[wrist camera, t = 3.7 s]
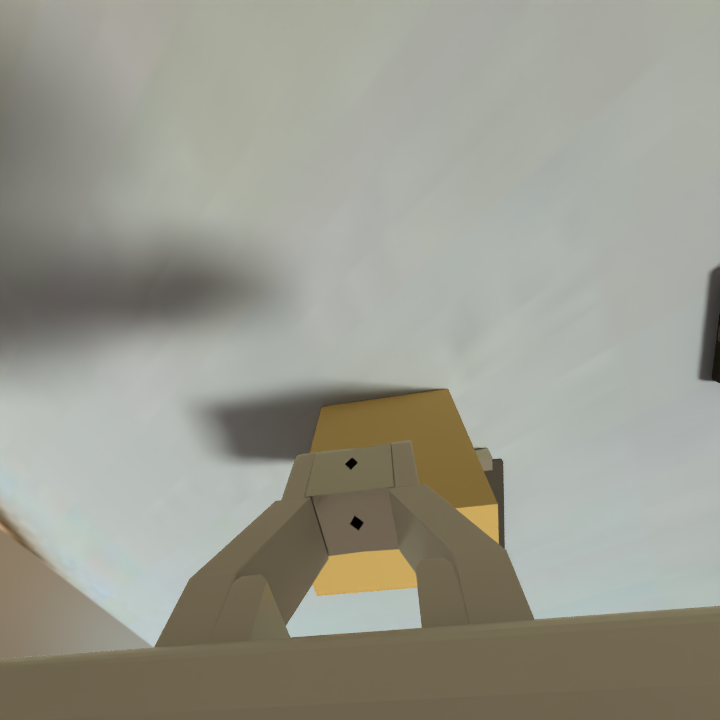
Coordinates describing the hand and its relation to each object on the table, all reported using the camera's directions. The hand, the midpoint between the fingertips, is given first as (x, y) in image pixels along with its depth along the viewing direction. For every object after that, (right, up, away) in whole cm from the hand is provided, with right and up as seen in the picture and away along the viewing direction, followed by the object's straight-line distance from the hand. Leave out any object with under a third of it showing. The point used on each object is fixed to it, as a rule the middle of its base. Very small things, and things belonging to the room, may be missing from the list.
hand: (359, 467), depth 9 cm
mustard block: (+2, -2, +16) cm, 16 cm away
